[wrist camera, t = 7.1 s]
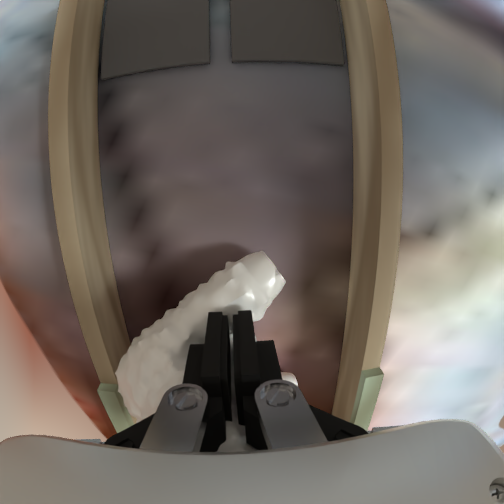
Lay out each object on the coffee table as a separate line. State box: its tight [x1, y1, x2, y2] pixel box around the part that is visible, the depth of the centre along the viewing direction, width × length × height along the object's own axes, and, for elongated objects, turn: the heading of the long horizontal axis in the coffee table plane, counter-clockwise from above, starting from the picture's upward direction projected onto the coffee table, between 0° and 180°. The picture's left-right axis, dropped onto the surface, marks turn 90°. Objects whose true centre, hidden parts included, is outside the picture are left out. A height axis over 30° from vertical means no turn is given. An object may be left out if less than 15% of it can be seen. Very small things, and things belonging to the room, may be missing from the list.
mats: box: [101, 0, 344, 80], centre depth 11 cm, size 11×6×1 cm, turn 92°
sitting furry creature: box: [115, 251, 298, 452], centre depth 9 cm, size 10×9×12 cm
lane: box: [48, 0, 403, 433], centre depth 12 cm, size 14×30×4 cm, turn 2°
